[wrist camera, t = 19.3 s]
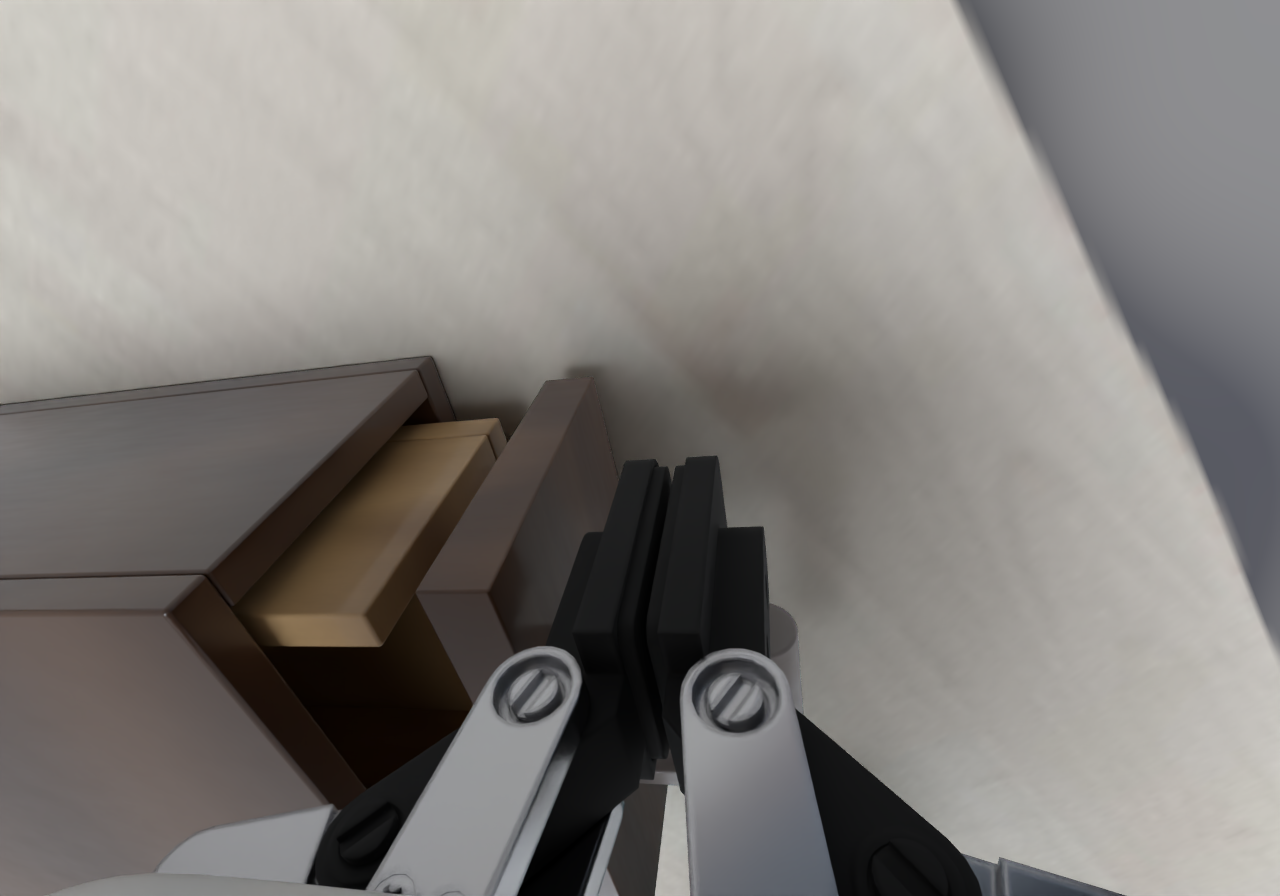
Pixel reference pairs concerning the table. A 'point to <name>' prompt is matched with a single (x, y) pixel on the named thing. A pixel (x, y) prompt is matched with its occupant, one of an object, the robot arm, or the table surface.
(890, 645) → the table surface
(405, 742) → the drawer
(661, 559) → the robot arm
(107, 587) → the cabinet
